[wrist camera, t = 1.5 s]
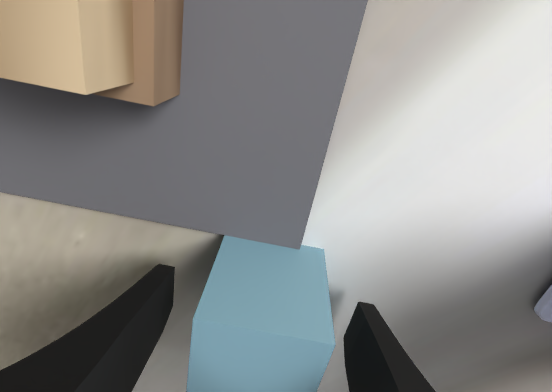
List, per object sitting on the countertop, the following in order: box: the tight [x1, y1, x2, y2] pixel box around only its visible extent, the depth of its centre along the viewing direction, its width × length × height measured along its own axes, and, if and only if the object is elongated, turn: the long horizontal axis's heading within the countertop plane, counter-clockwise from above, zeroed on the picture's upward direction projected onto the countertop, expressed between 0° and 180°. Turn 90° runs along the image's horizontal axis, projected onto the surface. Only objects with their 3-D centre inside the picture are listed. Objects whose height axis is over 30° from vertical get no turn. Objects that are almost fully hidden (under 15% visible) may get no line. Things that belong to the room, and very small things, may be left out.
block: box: [186, 235, 335, 392], centre depth 12 cm, size 4×4×4 cm
